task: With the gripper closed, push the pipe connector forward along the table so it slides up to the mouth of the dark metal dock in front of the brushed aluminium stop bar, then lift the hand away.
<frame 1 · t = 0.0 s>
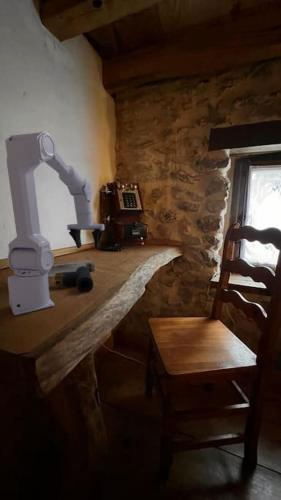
hand: (88, 247, 89), 11 cm above the table, tool pointing down, fingers open, 7 cm apart
guide dock: (69, 274, 90), on the table
pipe connector: (74, 287, 77), on the table
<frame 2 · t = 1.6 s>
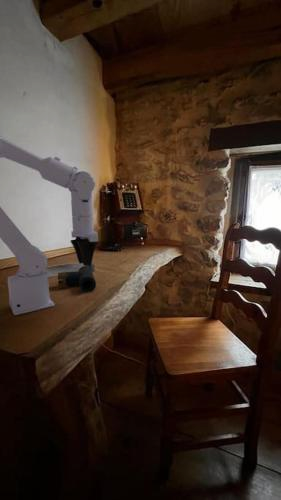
hand: (85, 264, 67), 9 cm above the table, tool pointing down, fingers open, 3 cm apart
nothing on the table moved.
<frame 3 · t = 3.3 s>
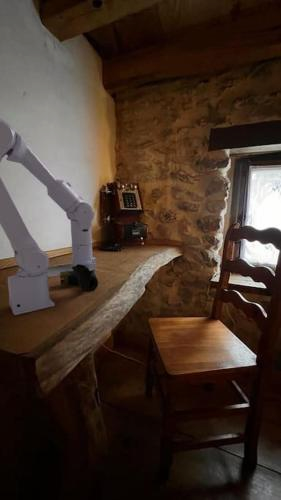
hand: (84, 288, 69), 1 cm above the table, tool pointing down, fingers closed
pipe connector: (78, 285, 78), on the table, touching gripper
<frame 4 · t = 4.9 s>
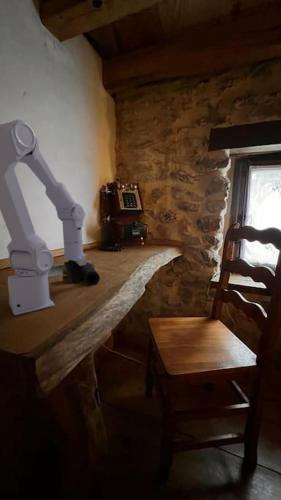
hand: (75, 283, 75), 1 cm above the table, tool pointing down, fingers closed
pipe connector: (79, 281, 83), on the table
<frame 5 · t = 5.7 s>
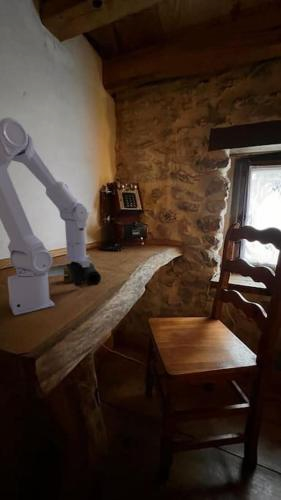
hand: (78, 285, 73), 1 cm above the table, tool pointing down, fingers closed
nothing on the table moved.
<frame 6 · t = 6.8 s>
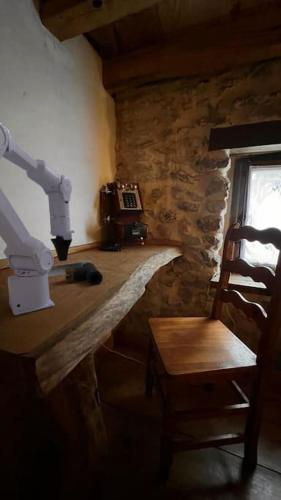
hand: (62, 260, 72), 9 cm above the table, tool pointing down, fingers closed
nothing on the table moved.
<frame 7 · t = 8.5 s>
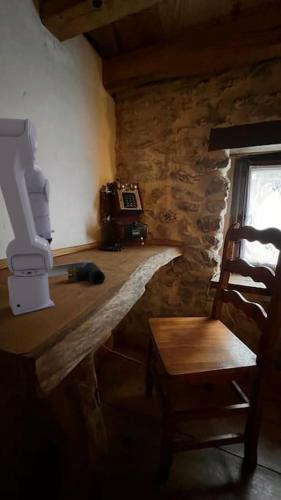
hand: (43, 259, 74), 9 cm above the table, tool pointing down, fingers closed
at the end: pipe connector inside the target area (2.7 cm from its centre), on the table; pipe connector moved 7.3 cm from its start; the gripper is holding nothing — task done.
